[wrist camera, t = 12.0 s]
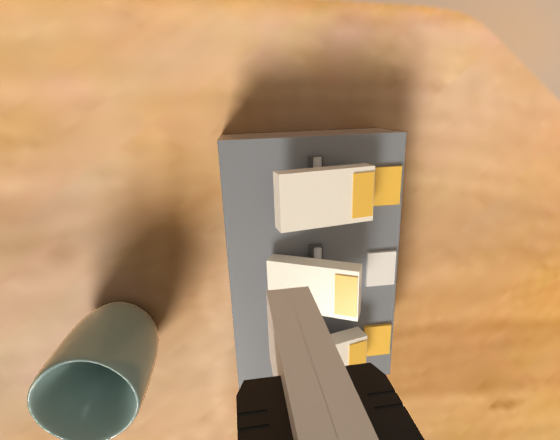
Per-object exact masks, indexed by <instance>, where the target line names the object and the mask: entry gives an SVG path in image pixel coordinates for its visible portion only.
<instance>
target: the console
mask: <svg viewBox="0 0 560 440" xmlns="http://www.w3.org/2000/svg"><path fill="white" fill-rule="evenodd" d="M406 134H407V132H404V131H397V130H390V129H383V128H357V129H335V130H313V131H290V132H268V133H245V134H223V135H221V136H220V137H219V139H218V141H217V142H218V153H219V165H220V176H221V188H222V199H223V211H224V222H225V233H226V245H227V256H228V268H229V279H230V291H231V302H232V313H233V325H234V336H235V348H236V359H237V371H238V382H239V389H240V387H241V385H242V383H243V381H244V380H249V379H257V378H265V377H272V376H273V373H272V367H271V362H270V354H269V336H268V317H267V298H266V290H268V282H267V262H266V261H267V259H268V258H269V257H270V256H271V255H272V254H281V255H290V256H298V257H307V258H316V259H325V260H334V261H342V262H351V263H360V264H362V285H361V312H360V315H359V319H358V322H357V321H351V320H345V319H339V318H333V317H327V316H322V317H323V319H324V321H325V324H326V326H327V328H328V330H329V332H330V334H332V333H336V332H339V331H343V330H347V329H350V328H354V327H359V328H360V329H361V330H362V331H363V332H364V333H365V334H366V335H367V356H366V363H370V362H371V363H372V364H373V365H374V366H376V367H377V368H378V369H379V370H380V371H382V372H383V373H384V374H390V364H391V349H392V335H393V321H394V306H395V292H396V278H397V263H398V249H399V234H400V220H401V206H402V191H403V177H404V163H405V148H406ZM359 163H367V164H371V165H374V166H375V183H374V205H373V221H366V222H358V223H351V224H344V225H337V226H330V227H322V228H315V229H308V230H301V231H293V232H286V233H280V232H279V230H278V229H277V228H276V227H275V209H274V186H273V171H280V170H292V169H303V168H314V167H325V166H337V165H348V164H359Z"/></svg>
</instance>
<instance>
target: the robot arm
mask: <svg viewBox="0 0 560 440" xmlns="http://www.w3.org/2000/svg"><path fill="white" fill-rule="evenodd" d="M266 298H267V317H268V336H269V354H270V362H271V367H272V373H273V376H272V377H265V378H257V379H249V380H244V381H243V383H242V385H241V387H240V389H239V392H238V394H237V396H236V398H237V429H238V440H424V438H423V437H422V435H421V433H420V432H419V430H418V428H417V427H416V425H415V423H414V421H413V420H412V418H411V416H410V415H409V413H408V411H407V410H406V408H405V406H404V407H403V404H402V401H401V400H400V398H399V396H398V395H397V393H395V390H394V388H393V386H392V385H391V383H390V381H389V380H388V378H387V376H386V375H385V374H384V373H383V372H382V371H380V370H379V369H378V368H377V367H376V366H374V365H373V364H372V363H371V362H370V363H363V364H355V365H347V366H345V365H344V363H343V361H342V358H341V356H340V354H339V352H338V350H337V348H336V345H335V343H334V341H333V339H332V337H331V334H330V332H329V330H328V328H327V326H326V324H325V321H324V319H323V317H322V315H321V313H320V311H319V308H318V306H317V304H316V302H315V300H314V297H313V295H312V293H311V291H310V289H309V287H308V286H306V287H296V288H286V289H276V290H266Z"/></svg>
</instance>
